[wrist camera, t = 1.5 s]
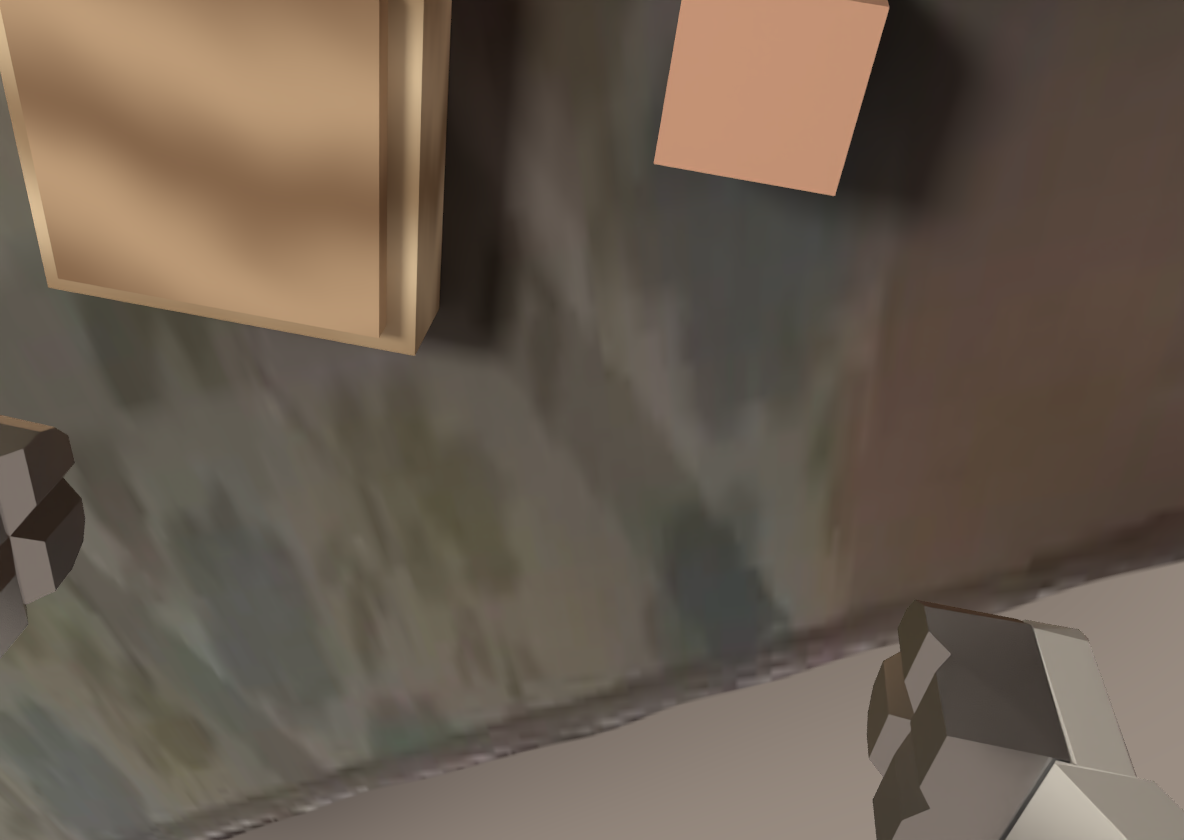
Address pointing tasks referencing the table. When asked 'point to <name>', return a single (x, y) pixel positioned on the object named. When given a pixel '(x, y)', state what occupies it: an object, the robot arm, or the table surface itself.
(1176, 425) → the table surface
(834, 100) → the cube
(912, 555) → the table surface
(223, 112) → the plinth
